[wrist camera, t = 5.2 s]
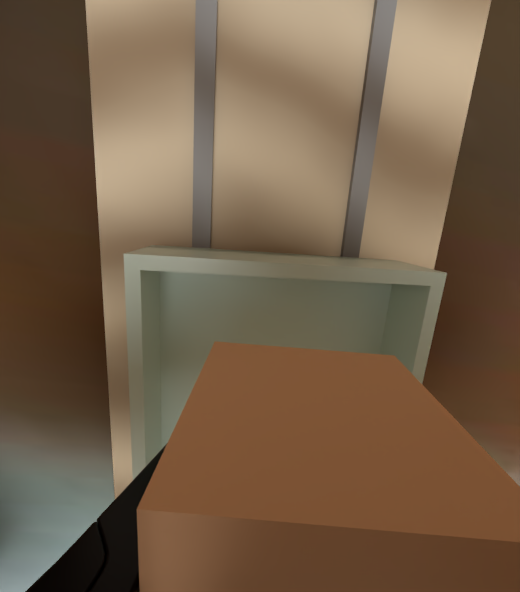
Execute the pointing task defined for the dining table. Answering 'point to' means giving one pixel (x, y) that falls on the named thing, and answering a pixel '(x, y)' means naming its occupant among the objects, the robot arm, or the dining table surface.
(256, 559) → the block
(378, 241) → the track
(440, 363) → the dining table surface
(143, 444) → the tray with handle
